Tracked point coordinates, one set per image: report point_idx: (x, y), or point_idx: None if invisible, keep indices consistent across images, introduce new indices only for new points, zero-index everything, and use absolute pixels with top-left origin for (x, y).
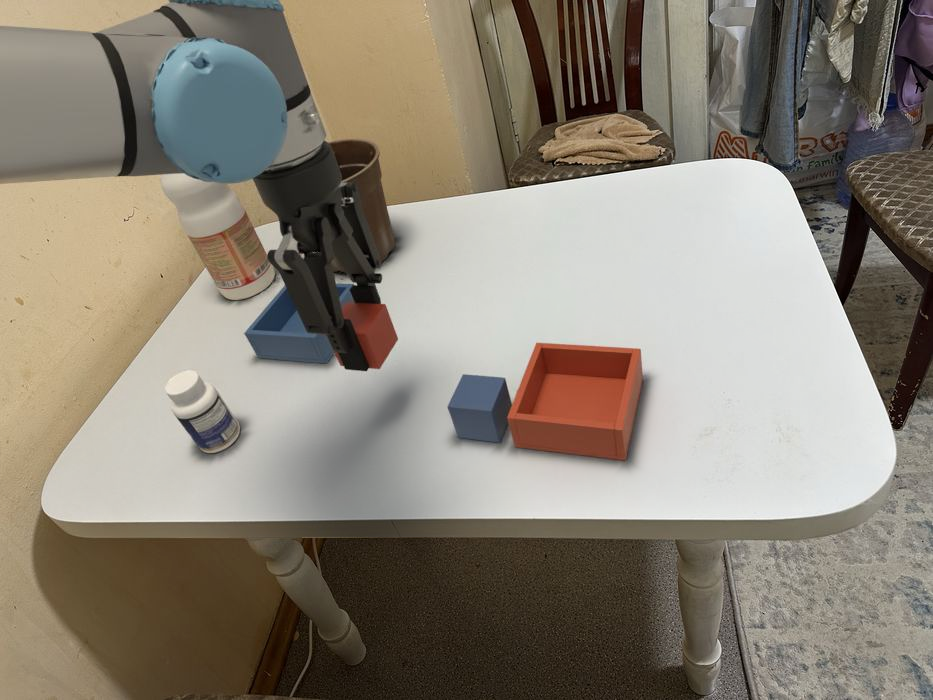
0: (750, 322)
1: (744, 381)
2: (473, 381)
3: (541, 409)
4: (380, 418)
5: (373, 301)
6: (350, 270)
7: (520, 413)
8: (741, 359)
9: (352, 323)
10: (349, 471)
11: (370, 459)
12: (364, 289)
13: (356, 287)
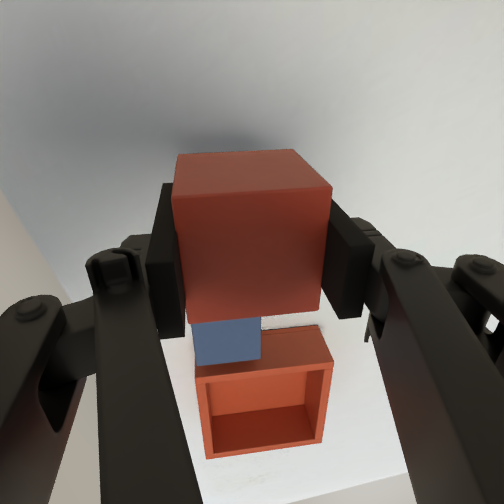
0: (381, 444)
1: (309, 454)
2: (247, 328)
3: None
4: (197, 143)
5: (324, 286)
6: (393, 324)
7: (205, 387)
8: (335, 448)
9: (225, 268)
10: (73, 146)
11: (110, 170)
12: (343, 299)
13: (359, 266)
